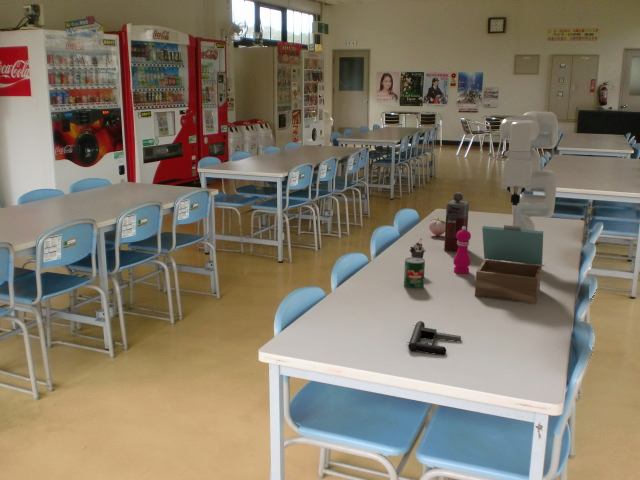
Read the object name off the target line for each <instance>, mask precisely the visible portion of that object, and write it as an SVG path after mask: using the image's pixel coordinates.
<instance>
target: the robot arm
mask: <svg viewBox="0 0 640 480" xmlns="http://www.w3.org/2000/svg"><path fill="white" fill-rule="evenodd" d="M499 136H500V138H501V139H502V140H505V141H509V142H508V151H505V152H504V156H506V157H507V158H506V159H505V161H504V164H503V172H502V179H501V188H502V189H503V190H507V191H508V193H510V196H511V197H510V203H511V208H512V225H511V226H519V227H521V229H523V230H534V231H536V226H535V223H534V222H533V220H532V219H531V218H533V217H534V218H543V219H545V218H547V219H548V218H551V217H552V216H553V215H554V212H555V205H556V195H557V186H558V185H557V182H558V180H557V179H558V178H557V174H556V172H555V171H553V170H548V169H541V168H540V167H541V161H542V160H541V156H540V154H539V153H538V151H537V150H536V149H549V150H550V149H554V148H555V147H556V146H557V144H558V141H559V121H558V117H557V115H556V113H554V112H552V111H534V110H533V111H527V112H525V113H524V114H522V115H521V114H520V115H515V116H510V117H505V118H504V119H503V120H502V121H501V122H500V125H499ZM515 188H517V192H516V189H515ZM525 192H536V193H537V192H538V193H543V194H544V195H540V194H531V193H530V194H528V193H525ZM505 262H510V261H505ZM512 263H519V262H512ZM521 264H525V263H521ZM531 265H534V264H531Z"/></svg>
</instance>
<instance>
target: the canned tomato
mask: <svg viewBox="0 0 640 480" xmlns="http://www.w3.org/2000/svg"><path fill="white" fill-rule="evenodd" d="M425 262H426V260H425V258H423V259H422V258H417V257H412V256H410V257H406V258H405V259H404V277H403V287H404V288H405V289H407V290H412V291H413V290H416V291H417V290H418V291H419V290H421V289H424V286H425V267H426V263H425Z"/></svg>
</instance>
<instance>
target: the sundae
mask: <svg viewBox="0 0 640 480" xmlns="http://www.w3.org/2000/svg"><path fill="white" fill-rule="evenodd" d="M422 240H423V239H422V238H420V240H419V241H417V242H416V243H415V244H413V246H410V249H409V252H410V253H411V257H417V258H422V259H424V254H425V252H426V249H425V248H424V246H423V244H422V243H421V241H422Z"/></svg>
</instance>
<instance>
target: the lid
mask: <svg viewBox="0 0 640 480" xmlns="http://www.w3.org/2000/svg"><path fill="white" fill-rule="evenodd" d="M481 228H482V242H483V243H482V244H483V245H482V246H483V260H484V259H485V260H494V261H503V262H506V261H510V262H519V263H525V264H534V265H540V266H543V254H544V253H543V250H544V231H543V230H535V231H534V230H523V229H521V227H519V226H512V225H507V224H506V225H505V224H504V226H503V227H500V226H499V227H498V226H490V225H489V226H487V225H482V227H481Z"/></svg>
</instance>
